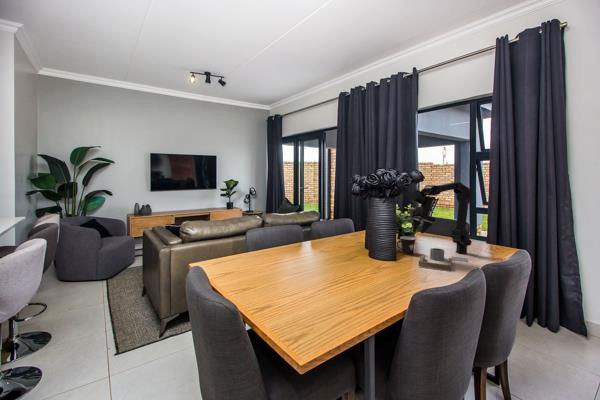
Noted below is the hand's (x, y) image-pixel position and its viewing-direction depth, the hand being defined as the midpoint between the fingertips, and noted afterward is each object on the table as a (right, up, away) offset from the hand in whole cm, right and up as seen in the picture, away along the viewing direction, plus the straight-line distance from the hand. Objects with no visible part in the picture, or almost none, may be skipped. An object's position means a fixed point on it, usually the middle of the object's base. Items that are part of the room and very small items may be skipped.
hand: (417, 232), depth 162 cm
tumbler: (+11, -16, -1) cm, 19 cm away
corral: (+5, -16, -10) cm, 20 cm away
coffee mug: (-3, -15, +12) cm, 19 cm away
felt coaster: (+23, -16, -2) cm, 28 cm away
